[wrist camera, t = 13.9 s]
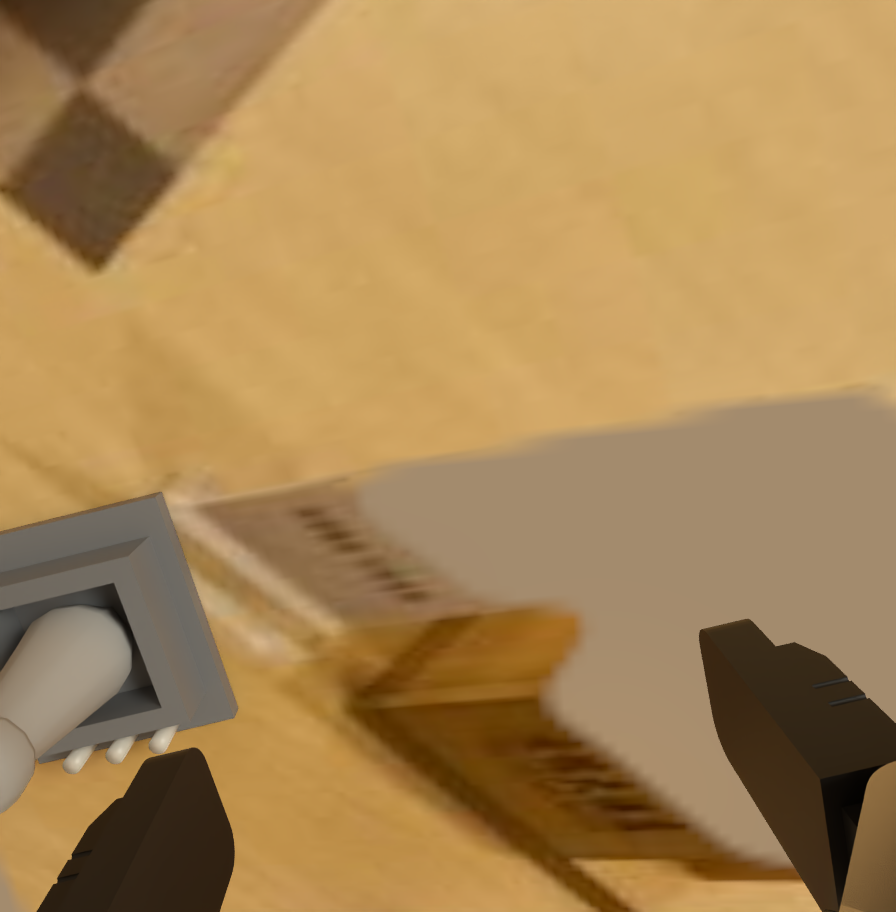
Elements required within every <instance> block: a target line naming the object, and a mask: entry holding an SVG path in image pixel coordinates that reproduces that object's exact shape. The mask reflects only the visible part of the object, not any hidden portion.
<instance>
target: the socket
mask: <svg viewBox="0 0 896 912" xmlns="http://www.w3.org/2000/svg"><path fill="white" fill-rule="evenodd" d="M76 604H84V605H94V606H104V607H113V608H114V610H115V611H116V612H117V613H118V615H119V616H120V617H121V619H122V620H123V621H124V622H125V624H126V625H127V626H128V627H129V629H130V630H131V631H132V669H131V671H130V673H129V675H128V677H127V678H126V680H125V682H124V683H123V685H122V687H121V688H120V690H119V692H118V693H117V694H116V695H114V696H113V697H112V698H111V699H109V700H108V701H107V702H106V703H105V704H103V705H102V706H101V707H100V708H99V709H97V710H96V711H95V712H94V713H92V714H91V715H90V716H89V717H88V718H86V719H85V720H84V721H83V722H82V723H80V724H79V725H78V726H77V727H75V728H74V729H73V730H72V731H71V732H69V733H68V734H67V735H66V736H64V737H63V738H62V739H61V740H60V741H58V742H57V743H56V744H55V745H54V746H52V747H51V748H50V749H49V750H47V751H46V752H45V753H44V754H43V755H41V756H40V757H39V758H38V761H39V764H41V763H46V762H50V761H54V760H58V759H63V758H66V759H65V761H64V762H63V769H64V770H65V771H66V772H67V773H69V774H76V773H78V772H79V771H80V770H81V768H82V767H83V765H84V764H85V762H86V761H87V760H88V758H89V757H90V755H91V754H92V752H93V751H97V750H101V749H105V748H109V747H110V748H109V749H108V751H107V752H106V759H107V760H108V761H109V762H110V763H112V764H119V763H121V762H122V761H123V759H124V758H125V756H126V754H127V753H128V751H129V750H130V748H131V746H132V745H133V743H134V742H135V741H139V740H143V739H147V738H152V739H151V740H150V742H149V749H150V750H151V751H152V752H153V753H156V754H161V753H164V752H165V751H166V749H167V747H168V745H169V744H170V742H171V740H172V738H173V736H174V734H175V733H176V732H177V731H181V730H186V729H190V728H194V727H198V726H203V725H207V724H211V723H215V722H219V721H224V720H228V719H232V718H234V717H235V715H236V713H237V710H238V706H237V703H236V700H235V697H234V695H233V692H232V689H231V686H230V683H229V681H228V678H227V675H226V672H225V669H224V666H223V664H222V661H221V658H220V655H219V652H218V649H217V647H216V644H215V641H214V638H213V635H212V633H211V630H210V627H209V624H208V621H207V618H206V616H205V613H204V610H203V607H202V604H201V601H200V599H199V596H198V593H197V590H196V587H195V585H194V582H193V579H192V576H191V573H190V570H189V568H188V565H187V562H186V559H185V556H184V553H183V551H182V548H181V545H180V542H179V539H178V537H177V534H176V531H175V528H174V525H173V522H172V520H171V517H170V514H169V511H168V508H167V505H166V503H165V500H164V497H163V494H162V492H159V493H155V494H151V495H146V496H142V497H138V498H134V499H130V500H126V501H122V502H118V503H114V504H110V505H106V506H102V507H98V508H94V509H90V510H86V511H82V512H78V513H74V514H69V515H65V516H61V517H57V518H53V519H49V520H45V521H41V522H37V523H33V524H29V525H25V526H21V527H17V528H13V529H9V530H5V531H1V532H0V672H1V670H2V669H3V667H4V666H5V664H6V663H7V661H8V660H9V658H10V657H11V655H12V654H13V652H14V651H15V649H16V647H17V646H18V644H19V642H20V641H21V639H22V638H23V636H24V634H25V633H26V631H27V629H28V628H29V626H30V625H31V623H32V622H33V621H35V620H36V619H38V618H39V617H41V616H43V615H44V614H46V613H47V612H49V611H50V610H52V609H54V608H56V607H61V606H68V605H76Z"/></svg>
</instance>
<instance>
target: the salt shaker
mask: <svg viewBox="0 0 896 912" xmlns="http://www.w3.org/2000/svg"><path fill="white" fill-rule="evenodd" d="M131 669H132V631H131V630H130V629H129V627H128V626H127V625H126V624H125V622H124V621H123V620H122V619H121V617H120V616H119V615H118V613H117V612H116V611H115V610H114V608H113V607H104V606H94V605H84V604H76V605H68V606H61V607H56V608H54V609H52V610H50V611H49V612H47V613H46V614H44V615H43V616H41V617H39V618H38V619H36V620H35V621H33V622H32V623H31V625H30V626H29V628H28V629H27V631H26V633H25V634H24V636H23V638H22V639H21V641H20V642H19V644H18V646H17V647H16V649H15V651H14V652H13V654H12V655H11V657H10V658H9V660H8V661H7V663H6V664H5V666H4V667H3V669H2V670H1V672H0V814H1V813H2V812H4V811H6V810H7V809H8V808H9V807H11V806H12V805H13V804H14V803H15V802H16V801H17V800H18V798H19V797H20V796H21V794H22V793H23V791H24V790H25V788H26V786H27V784H28V783H29V781H30V779H31V777H32V776H33V774H34V770H35V760H37V759H38V758H39V757H40V756H41V755H43V754H44V753H45V752H46V751H47V750H49V749H50V748H51V747H52V746H54V745H55V744H56V743H57V742H58V741H60V740H61V739H62V738H63V737H64V736H66V735H67V734H68V733H69V732H71V731H72V730H73V729H74V728H75V727H77V726H78V725H79V724H80V723H82V722H83V721H84V720H85V719H86V718H88V717H89V716H90V715H91V714H92V713H94V712H95V711H96V710H97V709H99V708H100V707H101V706H102V705H103V704H105V703H106V702H107V701H108V700H109V699H111V698H112V697H113V696H114V695H116V694H117V693H118V692H119V690H120V688H121V687H122V685H123V683H124V682H125V680H126V678H127V677H128V675H129V673H130V671H131Z"/></svg>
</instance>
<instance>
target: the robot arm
mask: <svg viewBox="0 0 896 912" xmlns="http://www.w3.org/2000/svg"><path fill="white" fill-rule="evenodd" d="M699 641H700V648H701V654H702V660H703V665H704V671H705V676H706V682H707V687H708V693H709V698H710V704H711V709H712V715H713V719H714V724H715V727H716V731H717V734H718V737H719V739H720V742H721V745H722V747H723V750H724V752H725V754H726V756H727V758H728V760H729V762H730V763H731V765H732V766H733V768H734V770H735V771H736V773H737V774H738V776H739V778H740V779H741V781H742V783H743V784H744V786H745V788H746V789H747V791H748V792H749V794H750V795H751V797H752V799H753V800H754V802H755V804H756V805H757V807H758V809H759V810H760V812H761V813H762V815H763V817H764V818H765V820H766V822H767V823H768V825H769V826H770V828H771V830H772V831H773V833H774V834H775V836H776V838H777V839H778V841H779V843H780V844H781V846H782V847H783V849H784V851H785V852H786V854H787V856H788V857H789V859H790V860H791V862H792V864H793V865H794V867H795V868H796V870H797V872H798V873H799V875H800V877H801V878H802V880H803V881H804V883H805V885H806V886H807V888H808V890H809V891H810V893H811V894H812V896H813V898H814V899H815V901H816V902H817V904H818V906H819V907H820V909H821V911H822V912H896V723H894V721H893V720H892V719H891V718H889V717H888V716H887V715H886V714H885V713H884V712H883V711H882V710H881V709H880V708H879V707H878V706H877V705H876V704H875V703H874V702H873V701H872V700H871V699H870V698H868V699H867V698H866V696H865V693H864V692H863V691H861V690H860V689H859V688H858V687H857V686H856V685H855V684H854V683H853V682H852V681H849V680H848V678H847V676H846V675H844V673H843V672H842V671H841V670H840V669H839V668H838V667H836V665H835V664H833V663H832V662H831V661H830V660H829V659H828V658H827V657H826V656H824V655H822V654H820V653H817V652H815V651H813V650H811V649H808V648H806V647H804V646H802V645H799V644H797V643H795V642H794V643H790V644H785V645H781V646H775V645H774V644H773V643H772V642H771V641H770V640H769V639H768V638H767V637H766V636H765V634H764V633H763V632H762V631H761V630H760V629H759V628H758V627H757V626H756V625H755V624H754V623H753V622H752V621H751V620H750V619H744V620H740V621H735V622H731V623H727V624H723V625H719V626H714V627H710V628H706V629H702V630H700V633H699ZM234 856H235V850H234V839H233V833H232V829H231V826H230V823H229V821H228V818H227V815H226V813H225V810H224V807H223V804H222V802H221V799H220V796H219V794H218V791H217V788H216V786H215V783H214V780H213V778H212V775H211V772H210V770H209V767H208V764H207V762H206V759H205V757H204V755H203V754H202V752H201V751H200V750H199V749H198V748H189V749H185V750H181V751H177V752H172V753H168V754H164V755H160V756H155V757H151V758H148V759H146V760H145V761H144V763H143V764H142V766H141V767H140V769H139V771H138V773H137V774H136V776H135V778H134V779H133V781H132V783H131V785H130V786H129V788H128V790H127V792H126V793H125V795H124V797H123V798H119V799H116V800H115V801H114V802H113V803H112V804H111V805H110V806H109V807H108V808H107V809H106V810H105V811H104V812H103V813H102V814H101V815H100V816H99V817H98V818H97V819H96V820H95V821H94V822H93V823H92V824H91V825H90V826H89V827H88V828H87V830H86V832H85V833H84V835H83V837H82V838H81V840H80V842H79V843H78V845H77V846H76V848H75V850H74V851H73V853H72V859H71V860H68V861H67V863H66V864H65V866H64V868H63V869H62V871H61V873H60V874H59V876H58V878H57V879H58V882H57V884H53V886H52V887H51V889H50V891H49V892H48V894H47V896H46V897H45V899H44V900H43V902H42V904H41V905H40V907H39V909H38V910H37V912H220V909H221V906H222V903H223V900H224V897H225V893H226V890H227V887H228V884H229V881H230V878H231V875H232V871H233V867H234Z"/></svg>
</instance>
